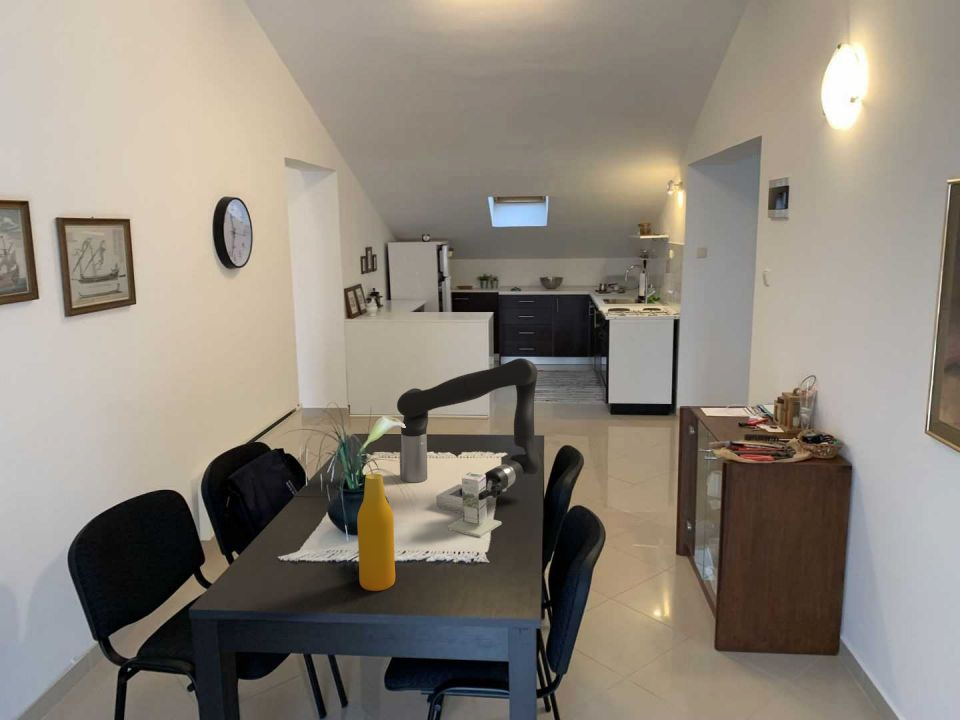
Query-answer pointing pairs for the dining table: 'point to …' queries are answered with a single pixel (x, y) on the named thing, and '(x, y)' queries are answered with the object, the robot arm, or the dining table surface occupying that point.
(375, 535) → the beer bottle
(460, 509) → the housing
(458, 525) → the pad
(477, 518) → the syrup box
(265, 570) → the dining table surface
